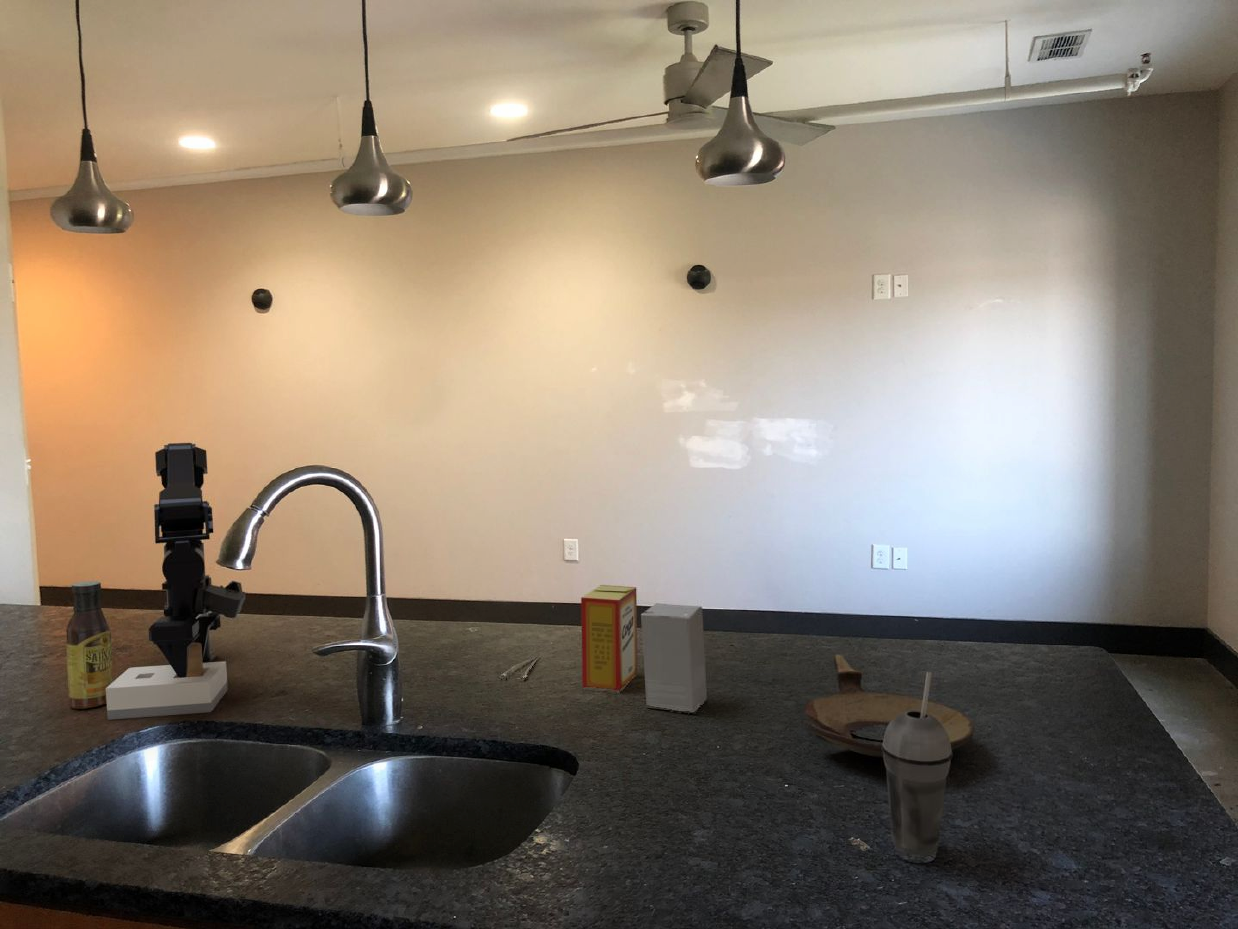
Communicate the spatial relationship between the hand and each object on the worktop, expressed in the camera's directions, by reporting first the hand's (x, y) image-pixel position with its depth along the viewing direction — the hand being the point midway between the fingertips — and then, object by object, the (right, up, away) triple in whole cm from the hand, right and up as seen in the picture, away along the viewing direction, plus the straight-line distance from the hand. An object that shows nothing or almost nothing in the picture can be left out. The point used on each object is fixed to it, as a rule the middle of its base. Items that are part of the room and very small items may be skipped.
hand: (191, 668), depth 142 cm
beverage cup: (+101, -9, -47) cm, 112 cm away
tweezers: (+53, -4, +17) cm, 56 cm away
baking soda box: (+68, -4, +8) cm, 68 cm away
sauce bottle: (-17, -6, +1) cm, 18 cm away
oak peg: (0, -4, 0) cm, 4 cm away
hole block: (-3, -6, 0) cm, 7 cm away
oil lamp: (+107, -7, -17) cm, 109 cm away
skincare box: (+78, -5, -3) cm, 78 cm away
